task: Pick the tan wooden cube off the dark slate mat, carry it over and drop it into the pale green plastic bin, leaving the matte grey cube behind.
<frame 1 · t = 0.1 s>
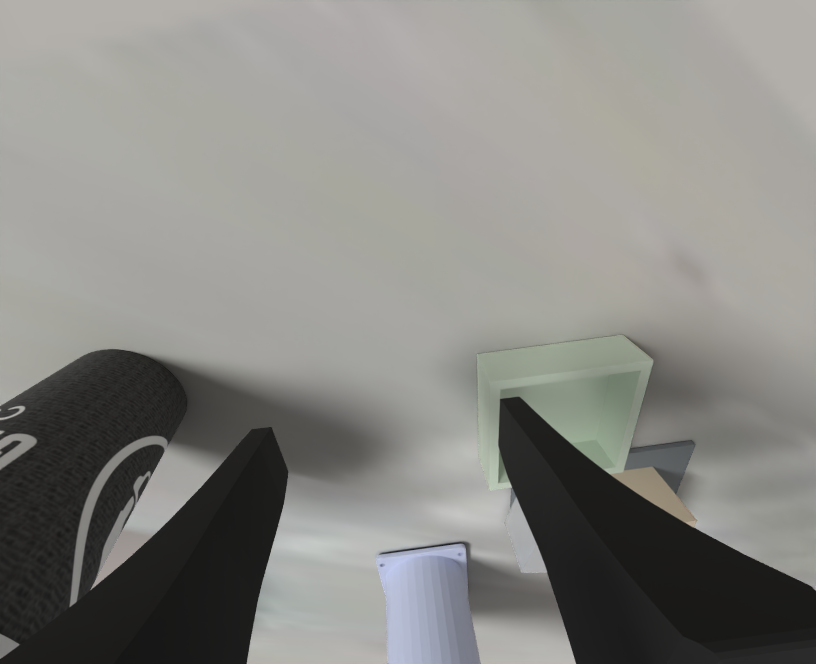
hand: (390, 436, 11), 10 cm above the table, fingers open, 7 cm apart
slate mat: (594, 486, 29), on the table
matte grey cube: (535, 507, 30), resting on slate mat
green bin: (544, 401, 25), on the table
coffee cup: (131, 392, 22), on the table
tan wooden cube: (621, 487, 29), resting on slate mat
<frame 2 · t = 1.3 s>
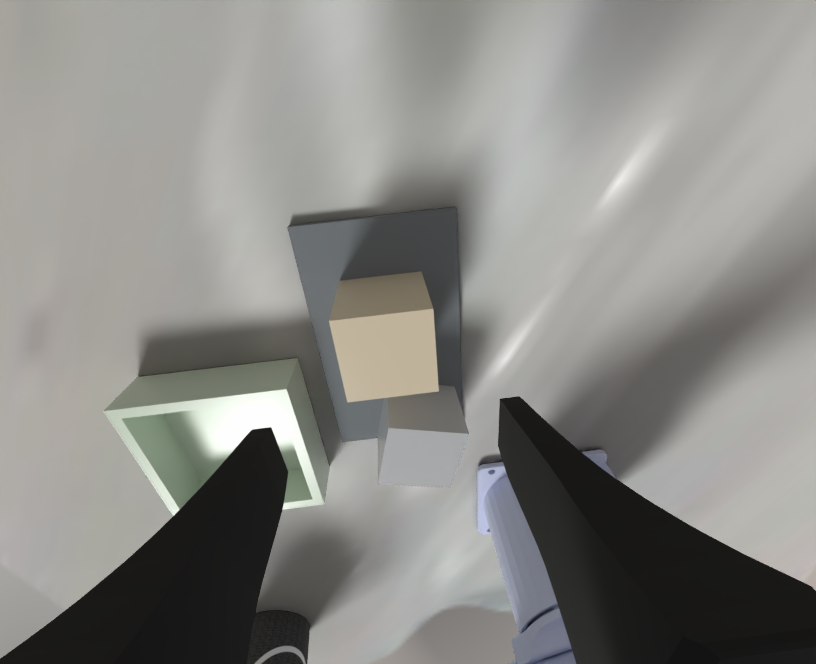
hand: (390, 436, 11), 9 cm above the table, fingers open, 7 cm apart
slate mat: (389, 341, 21), on the table
matte grey cube: (415, 409, 23), resting on slate mat
green bin: (243, 426, 23), on the table
coffee cup: (276, 624, 36), on the table
tan wooden cube: (385, 312, 19), resting on slate mat
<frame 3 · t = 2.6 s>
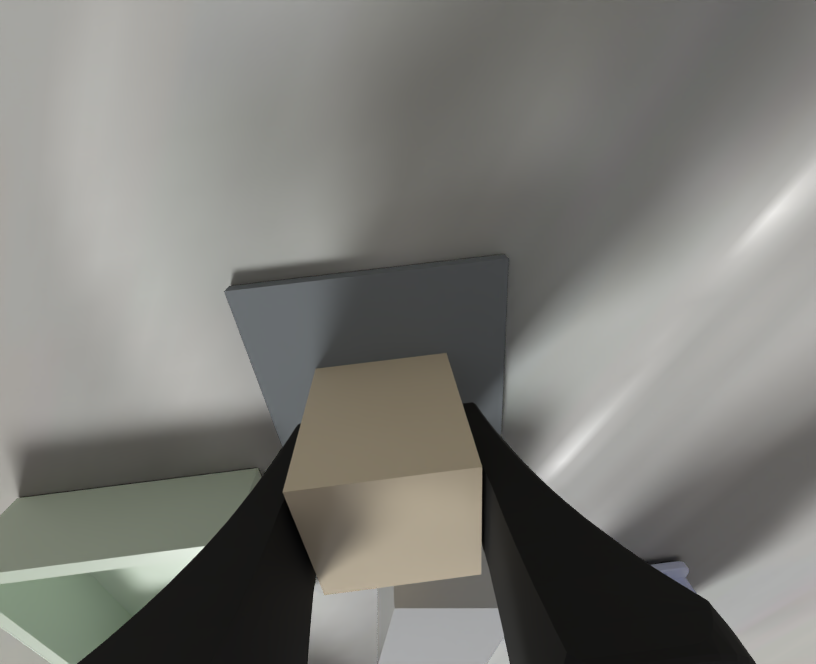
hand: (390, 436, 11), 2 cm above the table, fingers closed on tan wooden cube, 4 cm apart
slate mat: (395, 443, 14), on the table
matte grey cube: (430, 528, 16), resting on slate mat
green bin: (185, 551, 16), on the table
tan wooden cube: (389, 410, 12), resting on slate mat, touching gripper
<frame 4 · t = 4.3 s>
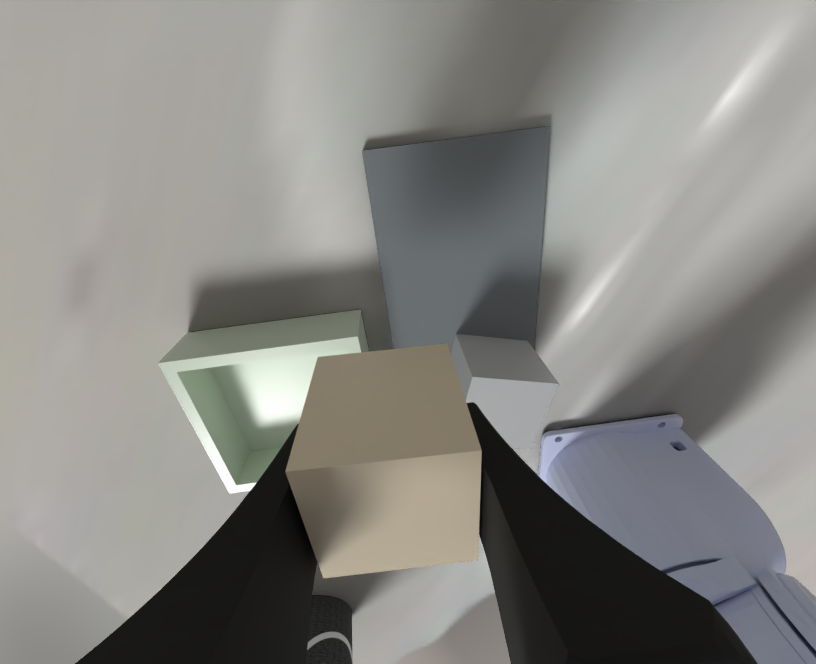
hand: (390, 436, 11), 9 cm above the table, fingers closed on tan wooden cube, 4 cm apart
slate mat: (461, 288, 19), on the table
matte grey cube: (482, 368, 21), resting on slate mat
green bin: (297, 389, 21), on the table
coffee cup: (317, 611, 34), on the table
tan wooden cube: (389, 400, 13), point 7 cm above the table, touching gripper
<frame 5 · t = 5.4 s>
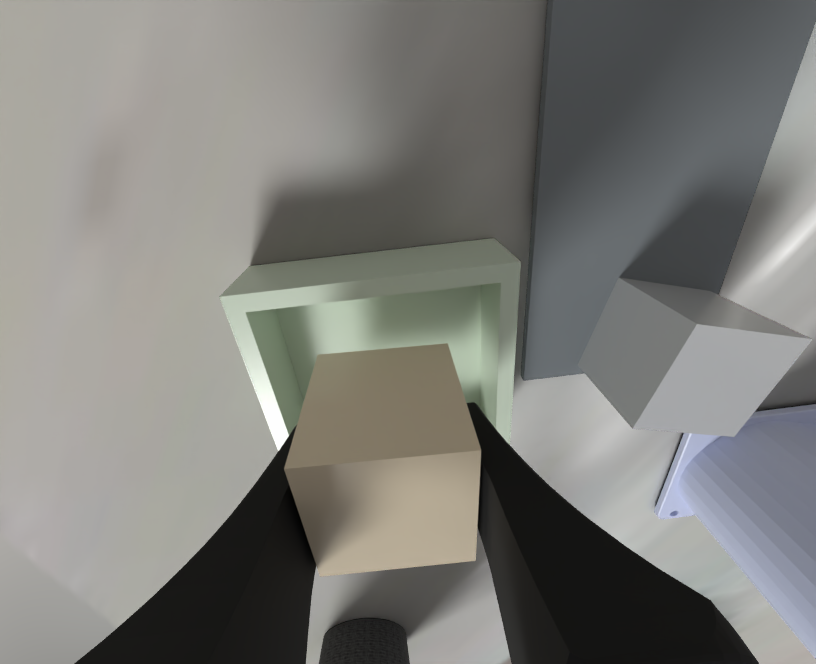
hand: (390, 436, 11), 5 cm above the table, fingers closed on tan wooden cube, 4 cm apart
slate mat: (637, 210, 13), on the table
matte grey cube: (640, 329, 15), resting on slate mat
green bin: (387, 354, 16), on the table
coffee cup: (365, 635, 28), on the table
tan wooden cube: (388, 399, 13), point 3 cm above the table, touching gripper
when the fingers open (4 cm above the table, at t = 6.0 s): tan wooden cube drops 2 cm, resting on green bin.
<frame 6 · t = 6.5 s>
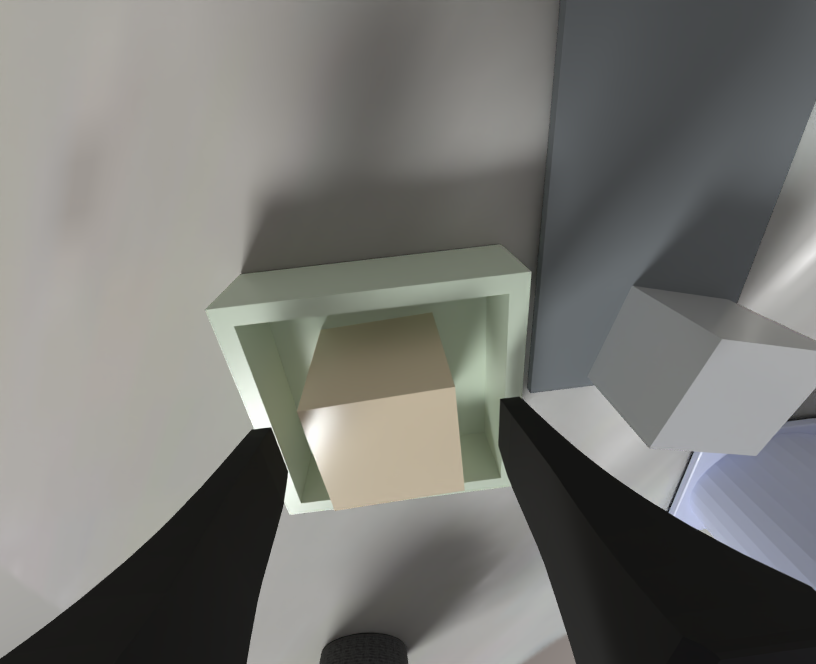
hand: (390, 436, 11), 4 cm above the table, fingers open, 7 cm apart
slate mat: (653, 215, 13), on the table
matte grey cube: (654, 339, 15), resting on slate mat
green bin: (387, 366, 15), on the table
coffee cup: (364, 649, 28), on the table
tan wooden cube: (385, 367, 14), resting on green bin
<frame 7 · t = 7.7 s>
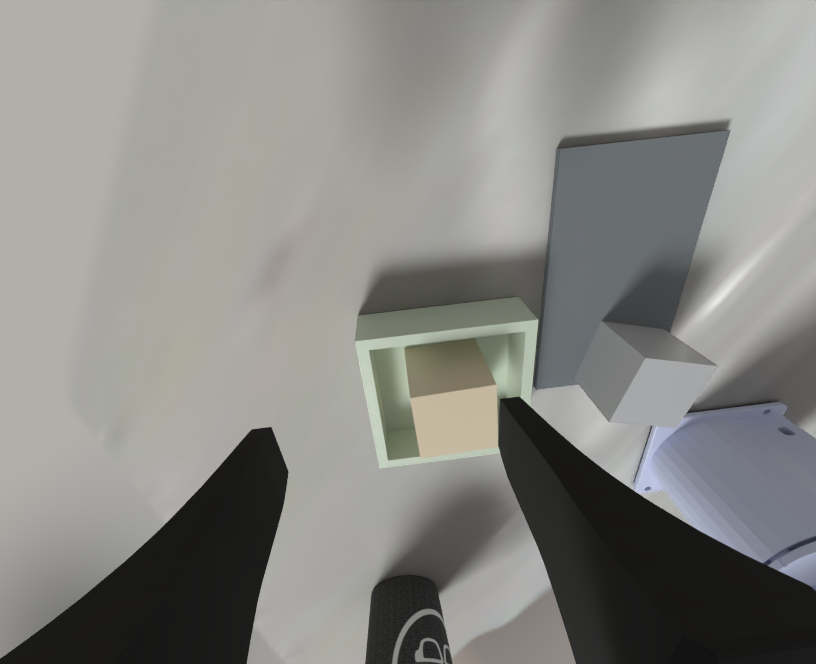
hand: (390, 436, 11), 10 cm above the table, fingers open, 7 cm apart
slate mat: (612, 279, 20), on the table
matte grey cube: (617, 354, 22), resting on slate mat
green bin: (442, 372, 23), on the table
coffee cup: (404, 591, 35), on the table
tan wooden cube: (442, 372, 22), resting on green bin
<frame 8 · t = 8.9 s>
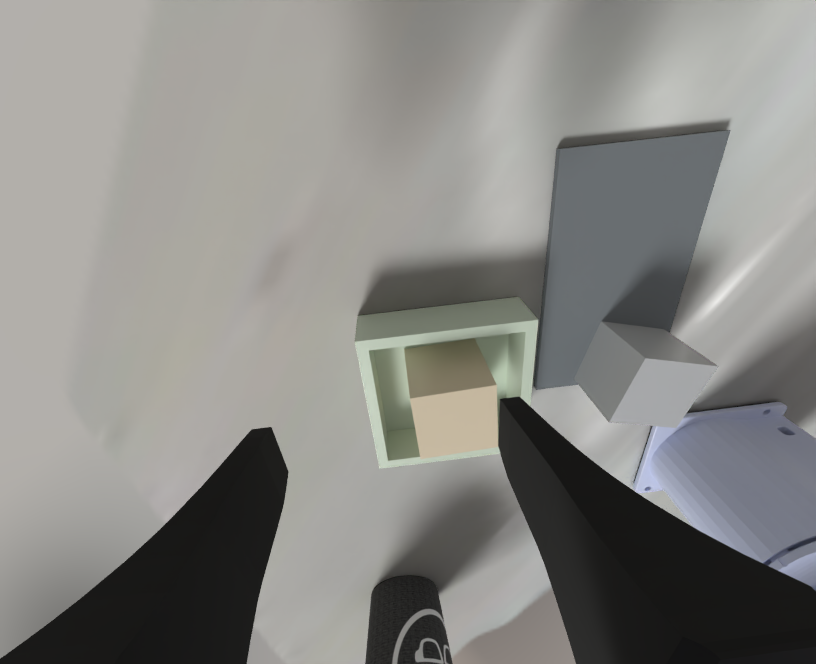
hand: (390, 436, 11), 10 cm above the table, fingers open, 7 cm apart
slate mat: (612, 279, 20), on the table
matte grey cube: (617, 354, 22), resting on slate mat
green bin: (442, 372, 23), on the table
coffee cup: (404, 591, 35), on the table
tan wooden cube: (442, 372, 22), resting on green bin
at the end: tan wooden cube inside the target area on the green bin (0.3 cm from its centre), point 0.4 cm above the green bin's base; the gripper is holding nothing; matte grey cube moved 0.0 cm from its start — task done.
